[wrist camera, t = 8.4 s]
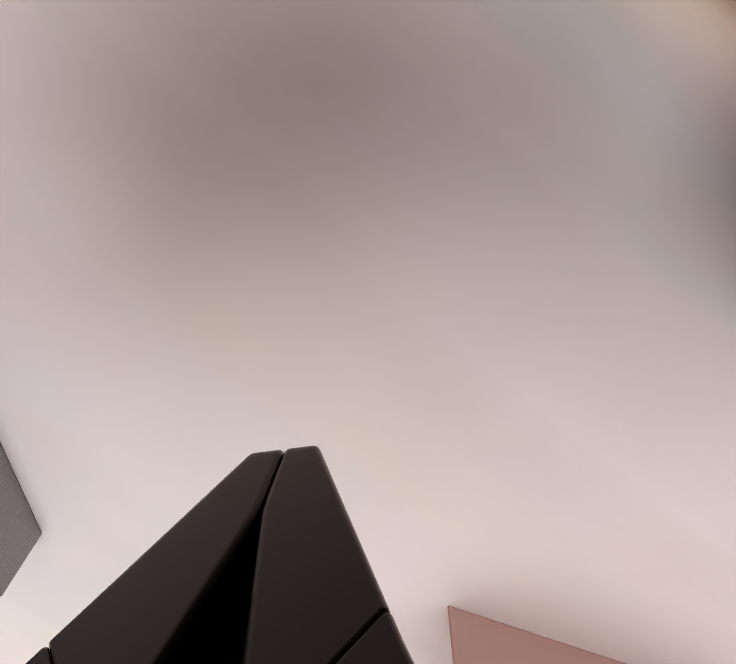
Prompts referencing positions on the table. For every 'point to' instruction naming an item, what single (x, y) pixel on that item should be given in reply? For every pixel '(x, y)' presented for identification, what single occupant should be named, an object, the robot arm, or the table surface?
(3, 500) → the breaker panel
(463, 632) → the pink box
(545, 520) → the table surface
